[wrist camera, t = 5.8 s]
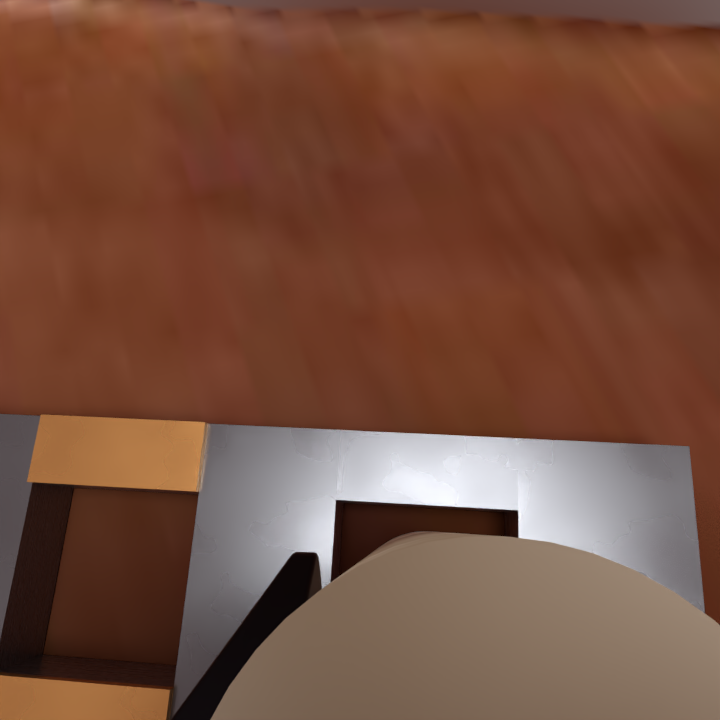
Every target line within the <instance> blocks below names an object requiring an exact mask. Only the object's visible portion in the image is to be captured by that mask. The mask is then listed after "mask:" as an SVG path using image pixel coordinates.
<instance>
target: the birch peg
mask: <svg viewBox="0 0 720 720" xmlns="http://www.w3.org/2000/svg"><path fill="white" fill-rule="evenodd" d="M210 720H720V625H719V624H718V623H717V622H715V621H714V620H713V619H712V618H710V617H709V616H707V615H706V614H705V613H703V612H702V611H700V610H699V609H698V608H696V607H695V606H693V605H692V604H691V603H689V602H688V601H686V600H685V599H684V598H682V597H681V596H679V595H678V594H677V593H675V592H674V591H672V590H670V589H668V588H666V587H664V586H663V585H661V584H659V583H657V582H655V581H654V580H652V579H650V578H648V577H646V576H645V575H643V574H641V573H639V572H637V571H635V570H634V569H631V568H629V567H626V566H624V565H621V564H619V563H616V562H614V561H611V560H609V559H606V558H604V557H601V556H599V555H596V554H594V553H591V552H587V551H583V550H579V549H575V548H572V547H568V546H564V545H560V544H556V543H553V542H546V541H539V540H531V539H523V538H515V537H506V536H491V535H476V534H461V533H447V532H432V531H417V532H410V533H406V534H403V535H400V536H398V537H395V538H393V539H391V540H389V541H388V542H386V543H384V544H383V545H382V546H380V547H379V548H377V549H376V550H375V551H373V552H372V553H371V554H369V555H368V556H367V557H365V558H364V559H362V560H361V561H360V562H358V563H357V564H356V565H354V566H353V567H351V568H350V569H349V570H347V571H346V572H345V573H343V574H342V575H340V576H339V577H338V578H336V579H335V580H334V581H332V582H331V583H329V584H328V585H327V586H325V587H324V588H323V589H321V590H320V591H318V592H317V593H316V594H315V595H314V596H312V597H311V598H310V599H309V600H307V601H306V602H305V603H304V604H303V605H301V606H300V607H299V608H298V609H296V610H295V611H294V612H293V613H292V614H290V615H289V616H288V617H287V618H285V620H284V621H283V622H282V623H281V624H280V625H279V626H278V627H277V628H276V629H275V630H274V631H273V632H272V633H271V634H270V635H269V636H268V638H267V639H266V640H265V641H264V642H263V643H262V644H261V645H260V646H259V647H258V648H257V649H256V650H255V652H254V653H253V654H252V656H251V657H250V659H249V660H248V661H247V663H246V664H245V665H244V667H243V668H242V669H241V671H240V672H239V674H238V675H237V676H236V678H235V679H234V680H233V682H232V683H231V684H230V686H229V687H228V689H227V691H226V693H225V695H224V696H223V698H222V700H221V702H220V703H219V705H218V707H217V709H216V711H215V712H214V714H213V716H212V718H211V719H210Z"/></svg>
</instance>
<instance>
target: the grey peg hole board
mask: <svg viewBox="0 0 720 720" xmlns="http://www.w3.org/2000/svg"><path fill="white" fill-rule="evenodd" d="M73 488H88V489H106V490H123V491H141V492H158V493H176V494H193V495H199V497H198V505H197V512H196V520H195V528H194V536H193V543H192V551H191V559H190V566H189V574H188V582H187V590H186V597H185V605H184V613H183V621H182V628H181V636H180V644H179V651H178V659H177V666H174V665H162V664H150V663H137V662H125V661H113V660H101V659H89V658H77V657H65V656H52V655H42V654H43V649H44V643H45V638H46V633H47V627H48V622H49V616H50V611H51V606H52V600H53V595H54V590H55V584H56V579H57V574H58V568H59V563H60V558H61V552H62V547H63V542H64V536H65V531H66V525H67V520H68V515H69V509H70V504H71V499H72V493H73ZM344 503H350V504H367V505H385V506H402V507H420V508H437V509H454V510H472V511H489V512H505V536H506V537H515V538H523V539H531V540H539V541H546V542H553V543H556V544H560V545H564V546H568V547H572V548H575V549H579V550H583V551H587V552H591V553H594V554H596V555H599V556H601V557H604V558H606V559H609V560H611V561H614V562H616V563H619V564H621V565H624V566H626V567H629V568H631V569H634V570H635V571H637V572H639V573H641V574H643V575H645V576H646V577H648V578H650V579H652V580H654V581H655V582H657V583H659V584H661V585H663V586H664V587H666V588H668V589H670V590H672V591H674V592H675V593H677V594H678V595H679V596H681V597H682V598H684V599H685V600H686V601H688V602H689V603H691V604H692V605H693V606H695V607H696V608H698V609H699V610H700V611H702V612H703V613H705V609H704V598H703V588H702V577H701V567H700V556H699V545H698V535H697V524H696V513H695V503H694V492H693V482H692V471H691V460H690V450H689V446H670V445H648V444H627V443H606V442H585V441H563V440H542V439H521V438H499V437H478V436H457V435H436V434H414V433H393V432H372V431H351V430H329V429H308V428H287V427H266V426H244V425H223V424H207V423H206V422H190V421H168V420H147V419H126V418H104V417H83V416H62V415H41V416H32V415H10V414H0V720H171V719H172V717H173V716H174V714H175V713H176V712H177V710H178V709H179V708H180V706H181V705H182V704H183V702H184V701H185V699H186V698H187V697H188V695H189V694H190V693H191V691H192V690H193V688H194V687H195V686H196V684H197V683H198V682H199V680H200V679H201V678H202V676H203V675H204V673H205V672H206V671H207V669H208V668H209V667H210V665H211V664H212V663H213V661H214V660H215V658H216V657H217V656H218V654H219V653H220V652H221V650H222V649H223V648H224V646H225V645H226V643H227V642H228V641H229V639H230V638H231V637H232V635H233V634H234V633H235V631H236V630H237V628H238V627H239V626H240V624H241V623H242V622H243V620H244V619H245V617H246V616H247V615H248V613H249V612H250V611H251V609H252V608H253V607H254V605H255V604H256V602H257V601H258V600H259V598H260V597H261V596H262V594H263V593H264V592H265V590H266V589H267V587H268V586H269V585H270V583H271V582H272V581H273V579H274V578H275V577H276V575H277V574H278V572H279V571H280V570H281V568H282V567H283V566H284V564H285V563H286V562H287V560H288V559H289V557H290V556H291V555H292V554H293V553H295V552H315V553H317V554H318V557H319V565H320V574H321V583H322V589H323V588H324V587H325V586H327V585H328V584H329V583H331V582H332V581H334V580H335V579H336V578H338V577H339V569H340V553H341V538H342V522H343V506H344Z"/></svg>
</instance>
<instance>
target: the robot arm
mask: <svg viewBox="0 0 720 720" xmlns="http://www.w3.org/2000/svg"><path fill="white" fill-rule="evenodd" d="M321 589H322V583H321V574H320V565H319V557H318V554H317V553H315V552H295V553H293V554H292V555H291V556H290V557H289V559H288V560H287V562H286V563H285V564H284V566H283V567H282V568H281V570H280V571H279V572H278V574H277V575H276V577H275V578H274V579H273V581H272V582H271V583H270V585H269V586H268V587H267V589H266V590H265V592H264V593H263V594H262V596H261V597H260V598H259V600H258V601H257V602H256V604H255V605H254V607H253V608H252V609H251V611H250V612H249V613H248V615H247V616H246V617H245V619H244V620H243V622H242V623H241V624H240V626H239V627H238V628H237V630H236V631H235V633H234V634H233V635H232V637H231V638H230V639H229V641H228V642H227V643H226V645H225V646H224V648H223V649H222V650H221V652H220V653H219V654H218V656H217V657H216V658H215V660H214V661H213V663H212V664H211V665H210V667H209V668H208V669H207V671H206V672H205V673H204V675H203V676H202V678H201V679H200V680H199V682H198V683H197V684H196V686H195V687H194V688H193V690H192V691H191V693H190V694H189V695H188V697H187V698H186V699H185V701H184V702H183V704H182V705H181V706H180V708H179V709H178V710H177V712H176V713H175V714H174V716H173V717H172V719H171V720H210V719H211V718H212V716H213V714H214V712H215V711H216V709H217V707H218V705H219V703H220V702H221V700H222V698H223V696H224V695H225V693H226V691H227V689H228V687H229V686H230V684H231V683H232V682H233V680H234V679H235V678H236V676H237V675H238V674H239V672H240V671H241V669H242V668H243V667H244V665H245V664H246V663H247V661H248V660H249V659H250V657H251V656H252V654H253V653H254V652H255V650H256V649H257V648H258V647H259V646H260V645H261V644H262V643H263V642H264V641H265V640H266V639H267V638H268V636H269V635H270V634H271V633H272V632H273V631H274V630H275V629H276V628H277V627H278V626H279V625H280V624H281V623H282V622H283V621H284V620H285V618H287V617H288V616H289V615H290V614H292V613H293V612H294V611H295V610H296V609H298V608H299V607H300V606H301V605H303V604H304V603H305V602H306V601H307V600H309V599H310V598H311V597H312V596H314V595H315V594H316V593H317V592H318V591H320V590H321Z"/></svg>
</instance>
